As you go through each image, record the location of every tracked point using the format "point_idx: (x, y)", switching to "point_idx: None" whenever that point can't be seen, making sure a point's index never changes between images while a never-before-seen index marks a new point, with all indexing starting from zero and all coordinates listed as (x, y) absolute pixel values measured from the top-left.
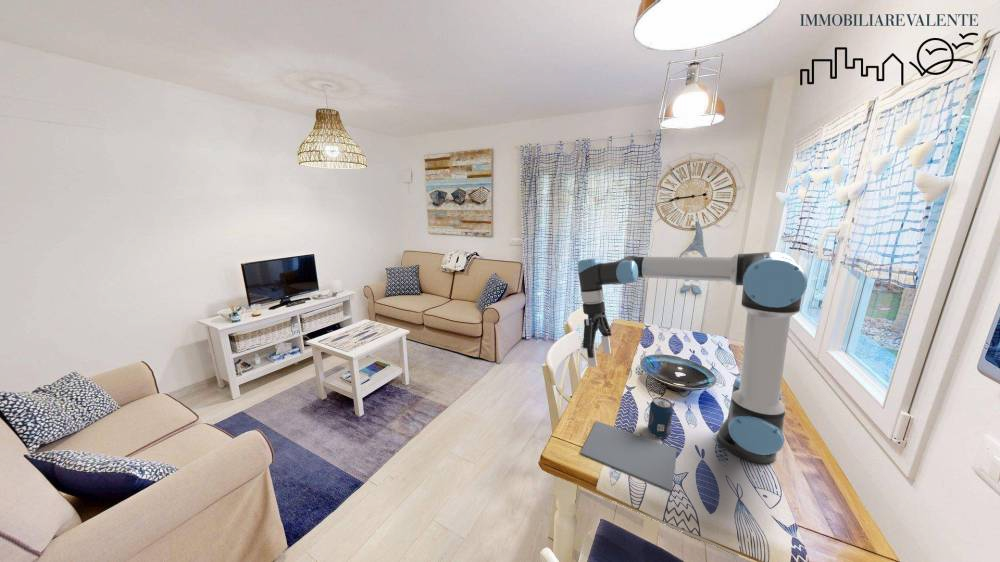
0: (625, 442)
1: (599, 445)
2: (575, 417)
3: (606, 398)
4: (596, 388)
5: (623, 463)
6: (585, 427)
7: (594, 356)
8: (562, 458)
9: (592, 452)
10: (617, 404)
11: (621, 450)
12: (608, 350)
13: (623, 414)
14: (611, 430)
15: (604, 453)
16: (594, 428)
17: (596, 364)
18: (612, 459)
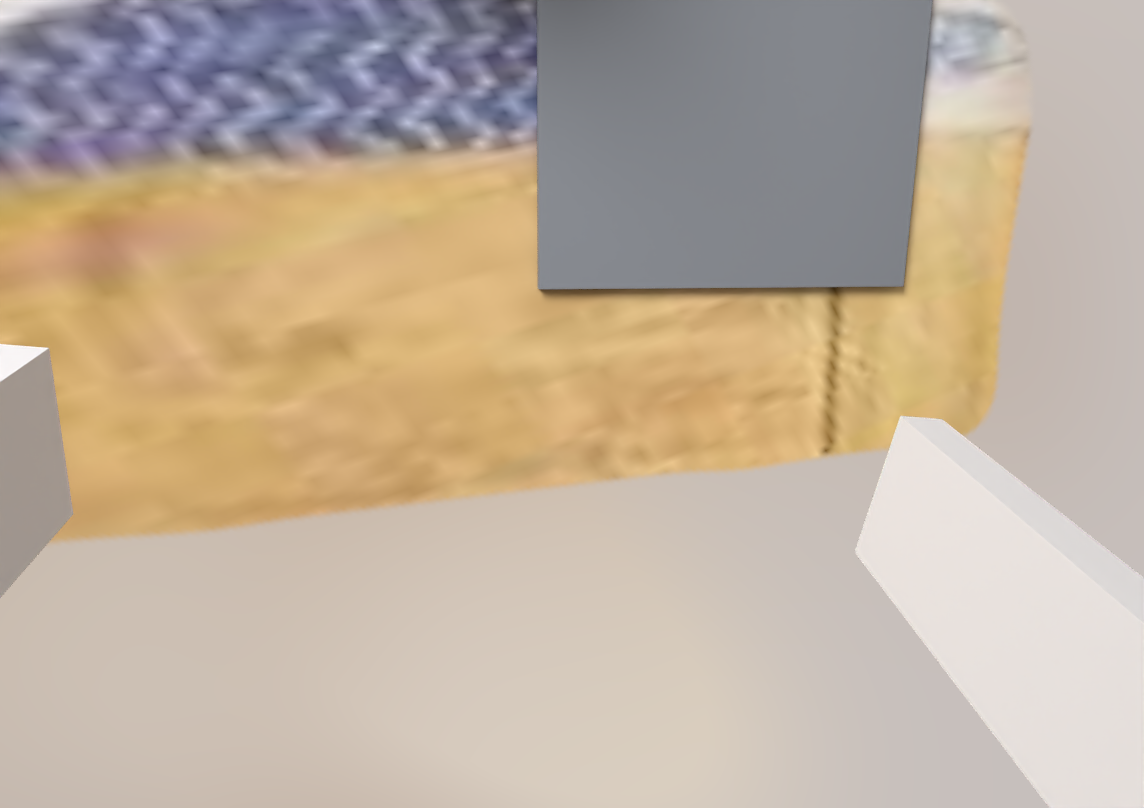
0: (671, 22)
1: (789, 193)
2: (569, 442)
3: (140, 304)
4: None
5: (877, 2)
6: (641, 340)
7: (1092, 560)
8: (972, 366)
9: (870, 217)
10: (174, 187)
11: (766, 37)
12: (7, 421)
13: (302, 104)
14: (592, 151)
15: (847, 142)
16: (635, 275)
17: (955, 437)
18: (875, 79)
